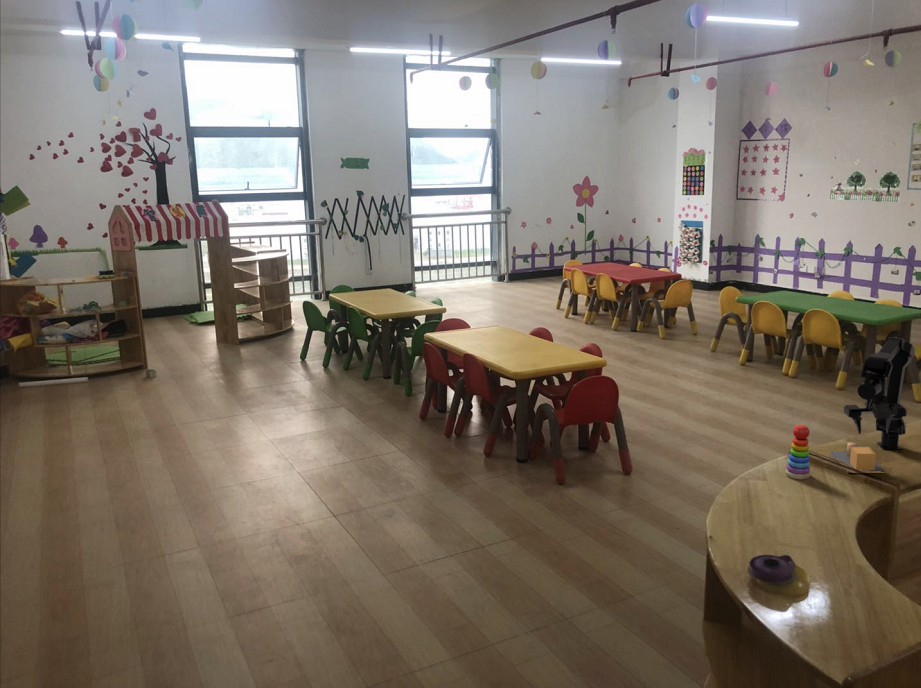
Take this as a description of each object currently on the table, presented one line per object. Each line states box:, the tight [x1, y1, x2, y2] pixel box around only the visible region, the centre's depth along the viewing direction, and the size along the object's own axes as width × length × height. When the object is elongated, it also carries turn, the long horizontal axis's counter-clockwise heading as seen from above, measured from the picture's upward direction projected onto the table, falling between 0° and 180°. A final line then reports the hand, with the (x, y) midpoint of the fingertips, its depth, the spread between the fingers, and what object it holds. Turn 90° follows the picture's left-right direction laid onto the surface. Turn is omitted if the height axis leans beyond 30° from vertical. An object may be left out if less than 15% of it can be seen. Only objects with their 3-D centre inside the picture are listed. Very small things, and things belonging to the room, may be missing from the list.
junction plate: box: [829, 441, 886, 473], centre depth 263 cm, size 18×12×6 cm, turn 172°
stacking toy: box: [785, 424, 811, 480], centre depth 255 cm, size 8×8×19 cm
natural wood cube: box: [850, 446, 877, 470], centre depth 258 cm, size 6×6×6 cm
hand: (873, 433), depth 260 cm, fingers open, 9 cm apart
